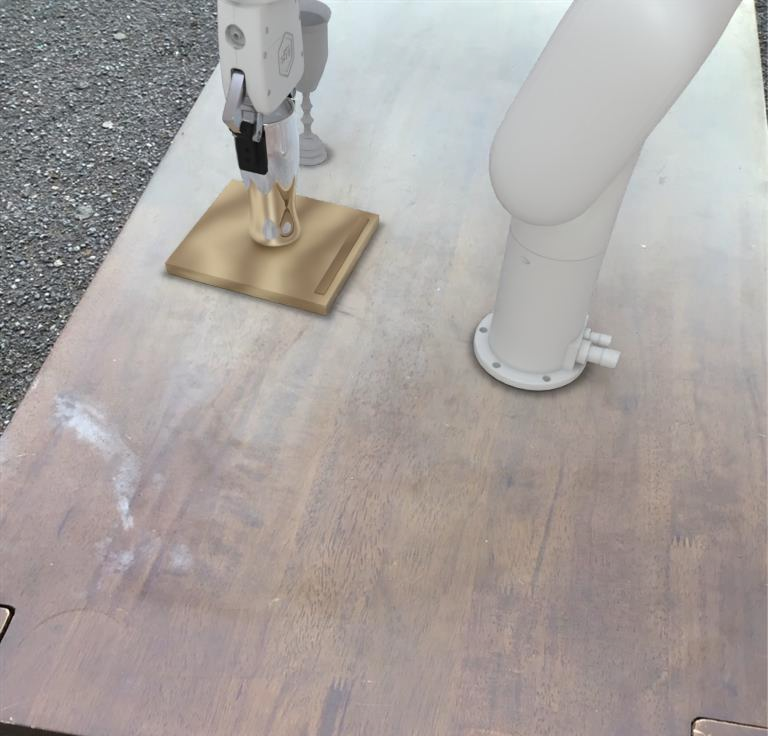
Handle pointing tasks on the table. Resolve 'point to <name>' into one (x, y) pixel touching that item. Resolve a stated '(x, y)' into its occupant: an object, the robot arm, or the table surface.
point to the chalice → (312, 73)
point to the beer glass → (275, 178)
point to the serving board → (275, 251)
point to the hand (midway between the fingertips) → (268, 150)
